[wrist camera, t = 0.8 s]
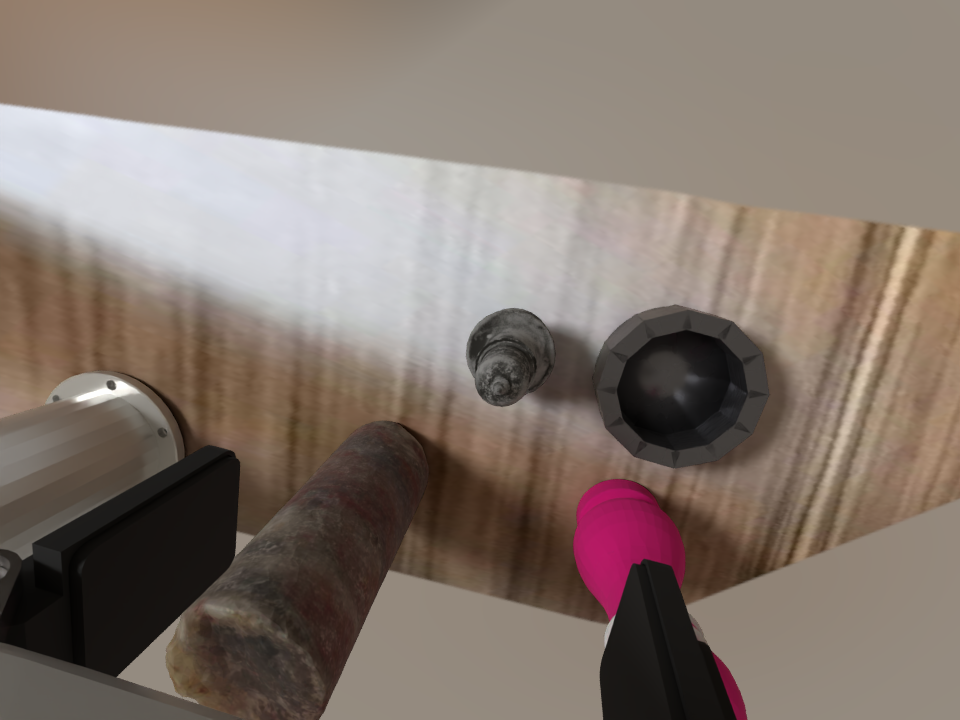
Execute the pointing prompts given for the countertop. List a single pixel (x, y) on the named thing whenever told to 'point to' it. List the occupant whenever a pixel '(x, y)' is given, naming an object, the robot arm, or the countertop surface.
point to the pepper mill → (631, 551)
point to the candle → (302, 585)
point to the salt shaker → (509, 355)
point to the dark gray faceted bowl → (680, 386)
